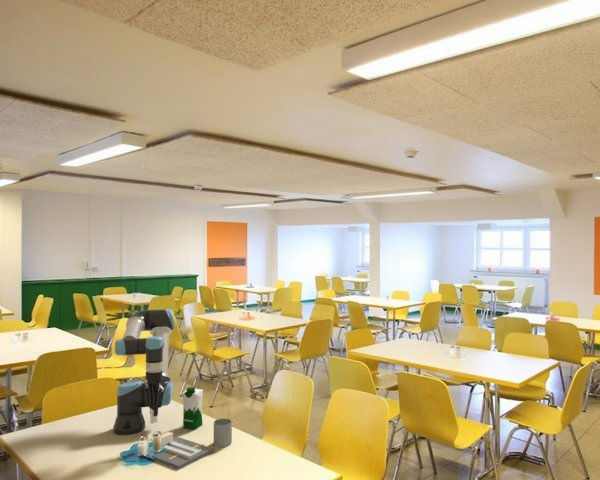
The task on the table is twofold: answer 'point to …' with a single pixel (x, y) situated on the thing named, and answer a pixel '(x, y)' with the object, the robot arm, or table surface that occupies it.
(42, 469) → the table surface
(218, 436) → the cup
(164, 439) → the fader
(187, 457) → the console
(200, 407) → the milk carton
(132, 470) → the table surface
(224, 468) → the table surface
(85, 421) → the table surface
